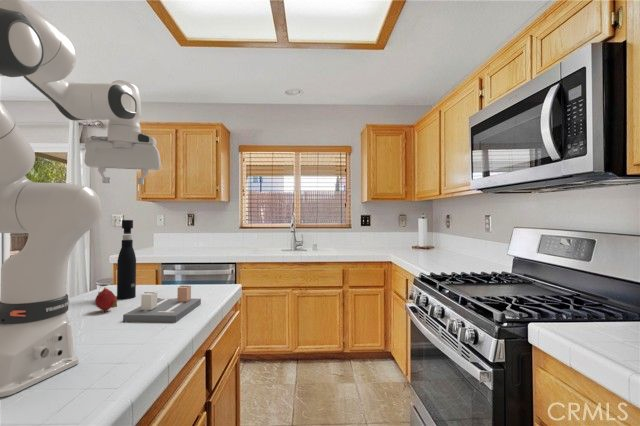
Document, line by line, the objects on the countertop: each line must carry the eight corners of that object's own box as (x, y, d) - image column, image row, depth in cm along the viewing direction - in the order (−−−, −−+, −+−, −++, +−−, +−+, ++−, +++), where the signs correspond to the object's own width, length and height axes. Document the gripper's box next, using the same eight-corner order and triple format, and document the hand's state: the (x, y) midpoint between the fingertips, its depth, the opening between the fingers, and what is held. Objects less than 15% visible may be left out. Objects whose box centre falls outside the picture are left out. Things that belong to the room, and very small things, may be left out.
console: (176, 322, 108) (176, 315, 108) (123, 321, 108) (123, 314, 108) (200, 304, 130) (200, 298, 130) (156, 303, 130) (156, 297, 130)
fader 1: (151, 309, 113) (151, 293, 113) (141, 309, 113) (141, 293, 113) (157, 306, 117) (157, 291, 117) (147, 306, 117) (147, 291, 117)
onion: (119, 309, 122) (119, 285, 122) (107, 314, 116) (108, 289, 116) (103, 308, 122) (103, 285, 122) (90, 313, 116) (91, 288, 116)
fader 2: (186, 301, 124) (186, 287, 124) (177, 301, 124) (177, 287, 124) (190, 298, 128) (191, 284, 128) (181, 298, 128) (182, 284, 128)
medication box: (97, 302, 131) (97, 291, 131) (105, 301, 133) (105, 290, 133) (109, 308, 123) (108, 297, 123) (117, 307, 125) (117, 295, 125)
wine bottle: (119, 296, 141) (120, 219, 141) (137, 295, 143) (138, 220, 143) (115, 299, 135) (116, 220, 135) (133, 298, 137) (135, 220, 137)
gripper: (81, 133, 102) (80, 181, 102) (158, 138, 108) (158, 183, 108) (88, 137, 108) (88, 183, 108) (162, 142, 114) (161, 185, 114)
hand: (123, 183), depth 108 cm, fingers open, 8 cm apart
